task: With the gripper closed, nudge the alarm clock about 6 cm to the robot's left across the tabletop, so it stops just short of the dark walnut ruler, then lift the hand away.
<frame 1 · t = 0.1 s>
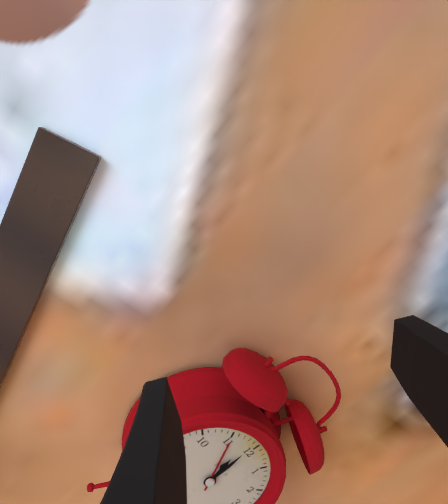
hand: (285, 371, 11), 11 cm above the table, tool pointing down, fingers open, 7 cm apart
alarm clock: (222, 414, 25), on the table
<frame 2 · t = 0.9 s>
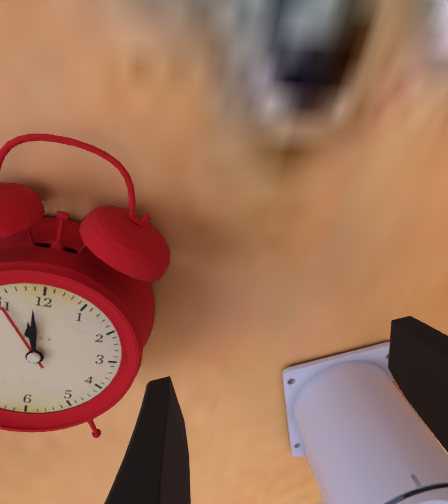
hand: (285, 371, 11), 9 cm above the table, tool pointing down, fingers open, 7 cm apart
alarm clock: (59, 277, 19), on the table
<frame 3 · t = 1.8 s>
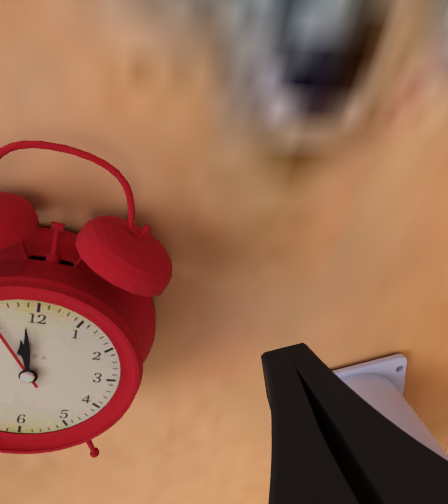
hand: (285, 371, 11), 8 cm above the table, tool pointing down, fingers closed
alarm clock: (55, 289, 18), on the table
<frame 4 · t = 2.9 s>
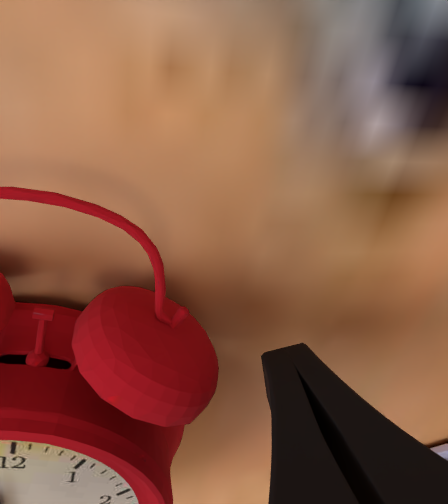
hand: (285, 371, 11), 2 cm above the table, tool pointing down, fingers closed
alarm clock: (45, 378, 13), on the table
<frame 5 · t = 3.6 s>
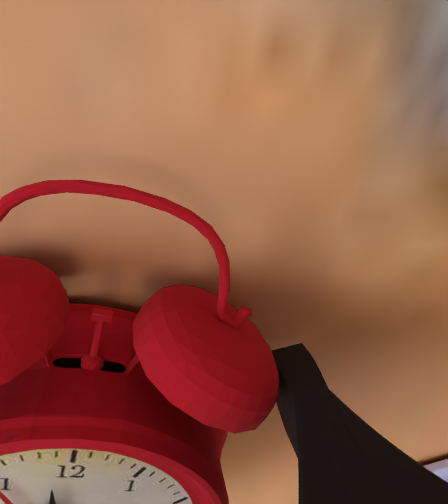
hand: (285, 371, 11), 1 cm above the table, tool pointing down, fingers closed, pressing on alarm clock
alarm clock: (86, 381, 12), on the table, touching gripper
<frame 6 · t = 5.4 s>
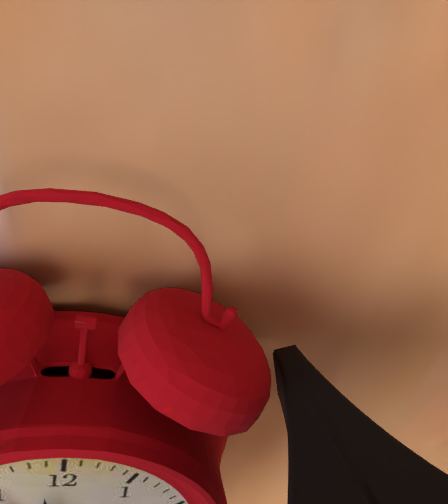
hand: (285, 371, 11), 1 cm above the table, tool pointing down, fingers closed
alarm clock: (83, 387, 12), on the table, touching gripper
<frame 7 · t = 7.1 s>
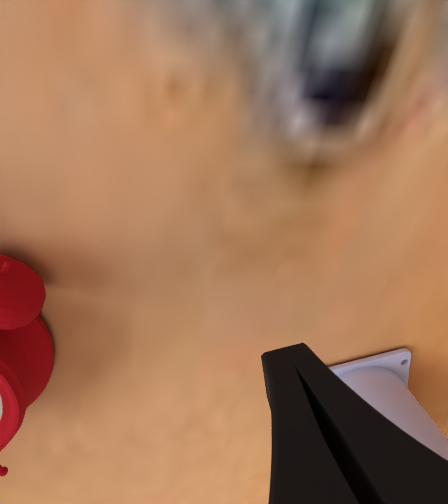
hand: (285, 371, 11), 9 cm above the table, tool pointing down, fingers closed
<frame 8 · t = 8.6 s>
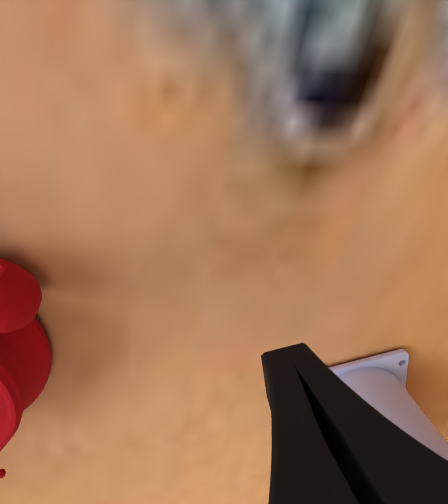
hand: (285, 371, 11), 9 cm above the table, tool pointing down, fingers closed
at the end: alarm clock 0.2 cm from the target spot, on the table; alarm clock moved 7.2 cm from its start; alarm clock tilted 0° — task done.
